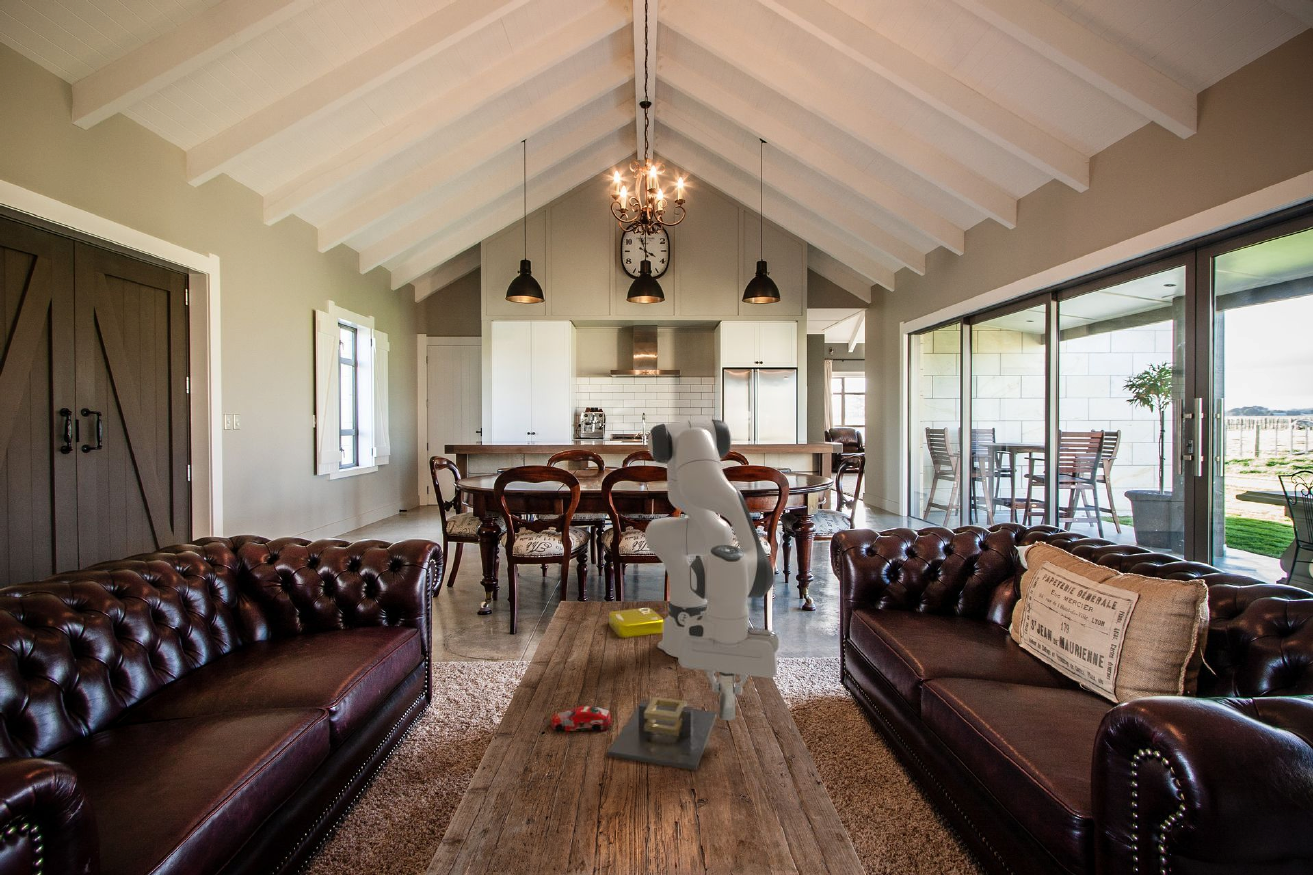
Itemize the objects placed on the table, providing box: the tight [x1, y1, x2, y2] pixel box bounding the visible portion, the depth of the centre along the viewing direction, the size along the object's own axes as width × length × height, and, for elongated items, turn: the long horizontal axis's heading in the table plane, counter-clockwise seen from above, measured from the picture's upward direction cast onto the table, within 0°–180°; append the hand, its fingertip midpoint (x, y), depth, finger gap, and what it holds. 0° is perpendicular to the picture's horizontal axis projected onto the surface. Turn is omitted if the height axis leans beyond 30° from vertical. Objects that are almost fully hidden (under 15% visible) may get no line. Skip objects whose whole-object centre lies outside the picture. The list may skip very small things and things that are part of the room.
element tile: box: [608, 607, 665, 639], centre depth 193 cm, size 15×15×5 cm
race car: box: [550, 705, 612, 733], centre depth 129 cm, size 13×5×4 cm, turn 89°
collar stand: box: [607, 696, 718, 772], centre depth 125 cm, size 22×18×6 cm
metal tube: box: [718, 672, 736, 721], centre depth 122 cm, size 3×3×12 cm
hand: (727, 691), depth 122 cm, fingers closed on metal tube, 3 cm apart
